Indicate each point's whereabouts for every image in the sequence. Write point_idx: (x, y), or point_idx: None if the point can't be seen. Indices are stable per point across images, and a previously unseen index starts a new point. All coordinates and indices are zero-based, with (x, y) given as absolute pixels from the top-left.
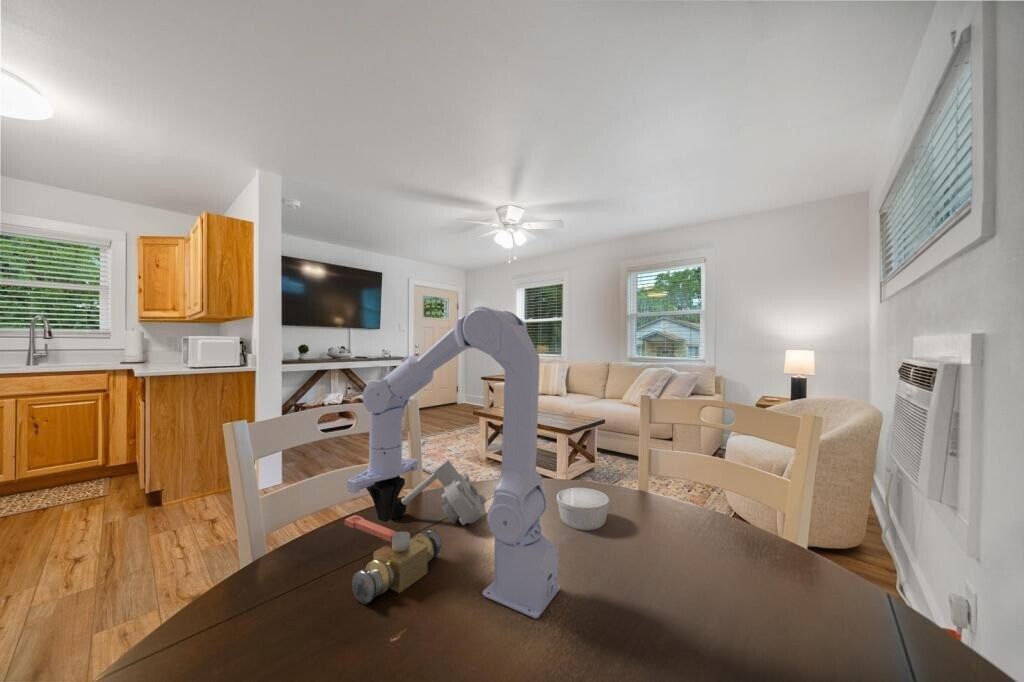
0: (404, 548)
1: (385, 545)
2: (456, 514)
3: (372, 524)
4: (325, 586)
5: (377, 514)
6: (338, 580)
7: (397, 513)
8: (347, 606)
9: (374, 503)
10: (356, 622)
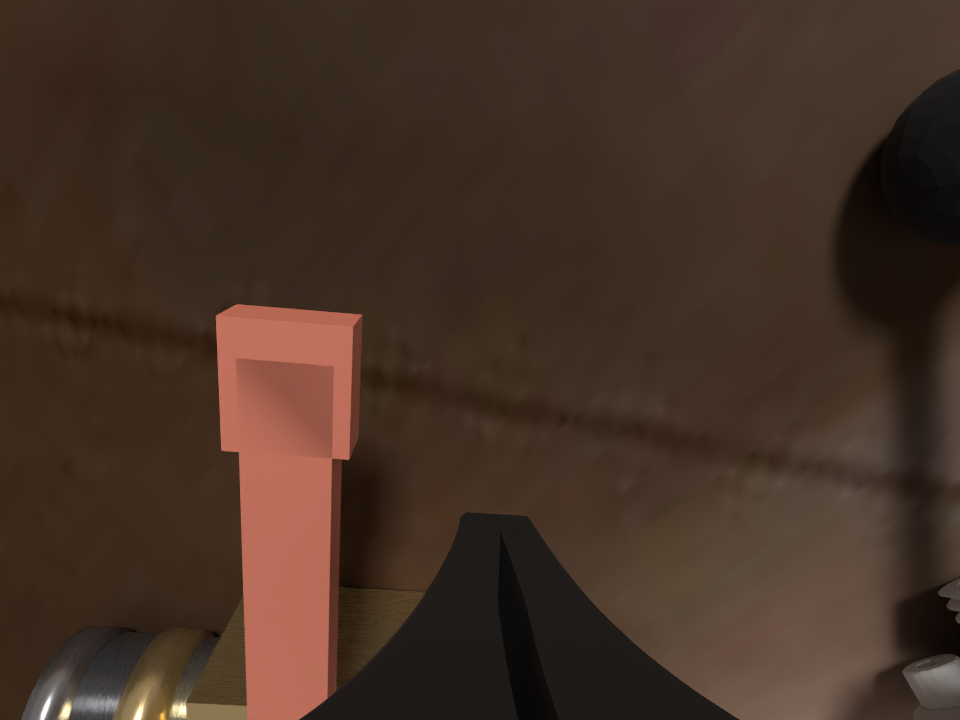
0: None
1: None
2: None
3: (302, 616)
4: (72, 421)
5: (458, 533)
6: (144, 437)
7: (905, 221)
8: (63, 617)
9: (426, 596)
10: None
